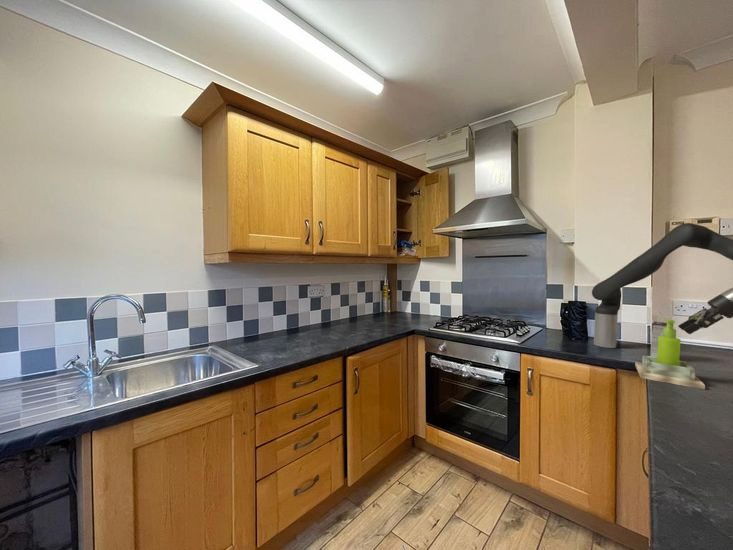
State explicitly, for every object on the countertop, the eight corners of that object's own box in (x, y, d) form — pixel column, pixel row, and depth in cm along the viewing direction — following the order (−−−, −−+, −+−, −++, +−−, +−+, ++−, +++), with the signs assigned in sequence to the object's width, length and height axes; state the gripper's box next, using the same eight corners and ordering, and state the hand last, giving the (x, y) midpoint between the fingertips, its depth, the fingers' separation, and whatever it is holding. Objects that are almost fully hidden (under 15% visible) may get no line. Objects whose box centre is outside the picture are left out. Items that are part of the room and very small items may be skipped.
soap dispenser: (674, 370, 114) (676, 319, 113) (681, 376, 108) (684, 322, 107) (653, 367, 117) (656, 317, 116) (659, 373, 111) (662, 320, 110)
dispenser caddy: (640, 377, 110) (641, 363, 109) (635, 365, 124) (635, 352, 124) (704, 389, 100) (705, 373, 100) (690, 374, 114) (691, 360, 114)
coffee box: (652, 354, 142) (654, 321, 141) (672, 357, 137) (673, 323, 136) (649, 357, 136) (651, 323, 135) (669, 361, 131) (671, 325, 130)
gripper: (714, 292, 109) (669, 319, 116) (728, 295, 98) (677, 324, 105) (736, 308, 106) (688, 335, 113) (753, 312, 94) (698, 342, 102)
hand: (683, 330), depth 109 cm, fingers open, 8 cm apart
